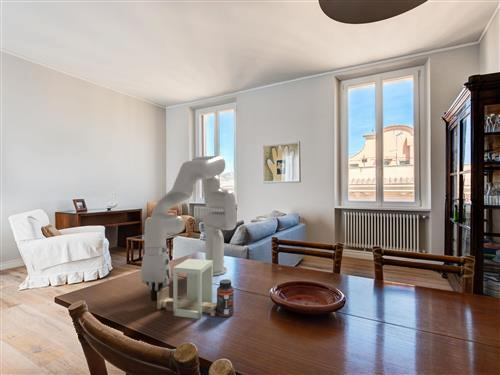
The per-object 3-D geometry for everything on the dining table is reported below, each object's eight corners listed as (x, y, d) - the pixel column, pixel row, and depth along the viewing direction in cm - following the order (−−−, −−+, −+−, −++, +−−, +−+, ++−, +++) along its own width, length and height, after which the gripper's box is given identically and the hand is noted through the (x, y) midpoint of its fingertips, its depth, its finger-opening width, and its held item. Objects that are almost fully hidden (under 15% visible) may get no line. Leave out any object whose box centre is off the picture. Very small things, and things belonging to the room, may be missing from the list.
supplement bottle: (231, 318, 88) (231, 284, 88) (214, 316, 89) (214, 283, 89) (236, 310, 94) (235, 278, 94) (220, 308, 95) (220, 277, 95)
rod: (156, 309, 94) (156, 292, 94) (167, 301, 101) (166, 285, 101) (213, 316, 89) (213, 298, 89) (220, 307, 96) (220, 290, 96)
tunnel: (188, 301, 101) (188, 258, 101) (212, 304, 98) (212, 260, 98) (173, 315, 90) (173, 267, 90) (200, 318, 88) (200, 269, 88)
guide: (173, 303, 99) (173, 295, 99) (180, 304, 98) (180, 296, 98) (166, 310, 94) (166, 301, 94) (173, 311, 93) (173, 302, 93)
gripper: (178, 249, 100) (178, 297, 100) (144, 247, 103) (144, 293, 103) (167, 254, 92) (167, 306, 92) (131, 251, 96) (131, 301, 96)
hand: (155, 299), depth 98 cm, fingers closed
